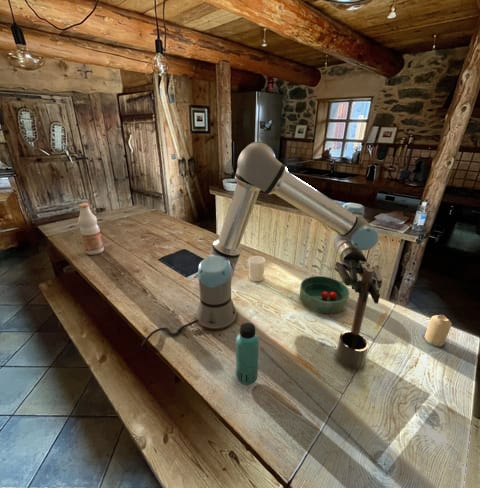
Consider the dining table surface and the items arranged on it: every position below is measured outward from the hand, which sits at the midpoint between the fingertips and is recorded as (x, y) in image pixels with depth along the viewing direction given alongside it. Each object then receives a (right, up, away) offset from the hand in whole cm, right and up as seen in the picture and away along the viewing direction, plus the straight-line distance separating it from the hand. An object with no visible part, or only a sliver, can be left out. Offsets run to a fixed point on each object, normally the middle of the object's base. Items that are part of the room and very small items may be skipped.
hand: (371, 298), depth 69 cm
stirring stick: (+1, -13, +12) cm, 17 cm away
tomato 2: (+5, -8, +43) cm, 44 cm away
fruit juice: (-118, +20, +79) cm, 144 cm away
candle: (+33, -20, +23) cm, 45 cm away
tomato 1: (+2, -8, +43) cm, 44 cm away
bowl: (+1, -10, +43) cm, 45 cm away
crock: (+1, -23, +15) cm, 27 cm away
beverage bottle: (-32, -26, +9) cm, 42 cm away
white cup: (-26, -3, +60) cm, 65 cm away
